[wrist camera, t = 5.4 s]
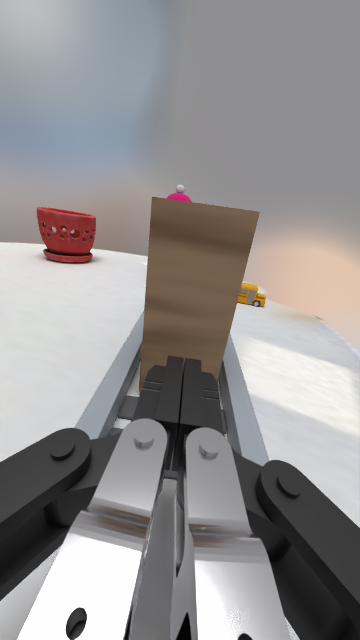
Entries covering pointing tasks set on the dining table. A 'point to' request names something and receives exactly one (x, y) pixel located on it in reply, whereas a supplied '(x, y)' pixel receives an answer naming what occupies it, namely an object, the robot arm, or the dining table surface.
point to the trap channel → (114, 389)
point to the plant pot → (66, 234)
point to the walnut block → (193, 281)
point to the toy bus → (251, 295)
